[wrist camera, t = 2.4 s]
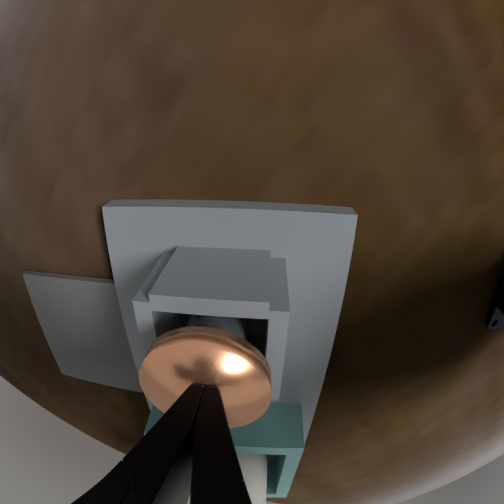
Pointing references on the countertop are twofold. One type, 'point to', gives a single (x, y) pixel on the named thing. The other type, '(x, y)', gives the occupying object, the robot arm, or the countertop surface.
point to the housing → (240, 296)
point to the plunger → (209, 367)
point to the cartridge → (254, 475)
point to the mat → (84, 327)
